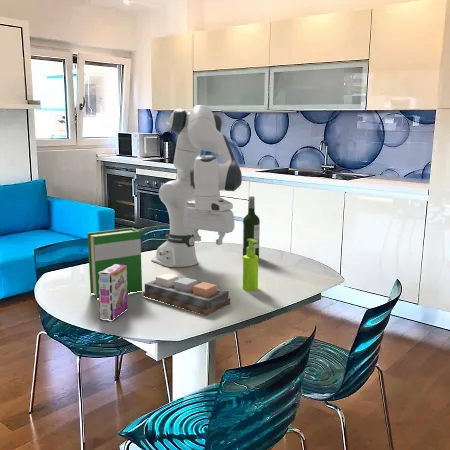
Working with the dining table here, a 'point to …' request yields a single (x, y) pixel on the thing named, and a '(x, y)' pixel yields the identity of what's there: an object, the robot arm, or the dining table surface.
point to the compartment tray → (187, 298)
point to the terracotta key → (205, 289)
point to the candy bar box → (113, 291)
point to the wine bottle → (251, 227)
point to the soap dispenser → (250, 268)
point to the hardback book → (115, 256)
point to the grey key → (185, 284)
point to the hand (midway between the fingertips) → (208, 242)
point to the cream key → (166, 280)
